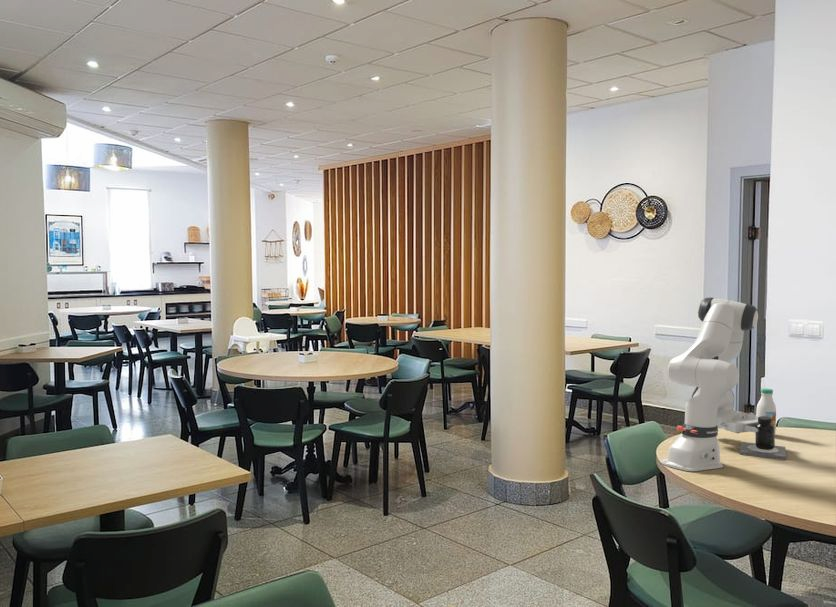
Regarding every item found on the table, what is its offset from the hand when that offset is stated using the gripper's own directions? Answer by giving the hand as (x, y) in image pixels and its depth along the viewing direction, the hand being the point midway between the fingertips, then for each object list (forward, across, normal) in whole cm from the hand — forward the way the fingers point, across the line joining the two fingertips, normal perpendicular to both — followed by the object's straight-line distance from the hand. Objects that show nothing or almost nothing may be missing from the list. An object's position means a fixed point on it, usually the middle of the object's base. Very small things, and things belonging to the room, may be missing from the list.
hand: (765, 429), depth 272 cm
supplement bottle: (-1, +2, +8) cm, 8 cm away
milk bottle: (-20, +26, +10) cm, 34 cm away
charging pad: (-1, 0, +9) cm, 9 cm away
